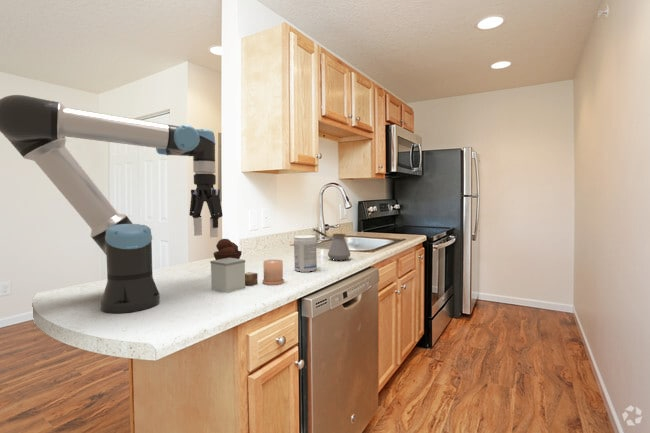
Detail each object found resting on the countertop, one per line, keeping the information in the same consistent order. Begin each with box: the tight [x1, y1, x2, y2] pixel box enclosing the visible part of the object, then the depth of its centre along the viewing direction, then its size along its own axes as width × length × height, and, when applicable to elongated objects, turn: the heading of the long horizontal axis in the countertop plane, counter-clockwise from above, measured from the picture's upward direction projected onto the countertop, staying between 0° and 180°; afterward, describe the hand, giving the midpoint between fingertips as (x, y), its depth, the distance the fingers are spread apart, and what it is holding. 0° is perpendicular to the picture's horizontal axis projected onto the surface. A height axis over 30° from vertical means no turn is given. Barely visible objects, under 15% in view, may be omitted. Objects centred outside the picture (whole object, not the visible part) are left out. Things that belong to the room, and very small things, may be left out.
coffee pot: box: [312, 228, 351, 261], centre depth 181 cm, size 21×12×15 cm, turn 61°
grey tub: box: [209, 258, 246, 294], centre depth 123 cm, size 8×8×10 cm
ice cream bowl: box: [213, 238, 243, 260], centre depth 143 cm, size 11×11×15 cm
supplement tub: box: [293, 234, 318, 273], centre depth 153 cm, size 10×10×15 cm
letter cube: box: [245, 272, 259, 287], centre depth 129 cm, size 4×4×4 cm
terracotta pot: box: [262, 259, 285, 286], centre depth 132 cm, size 8×8×8 cm
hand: (205, 236), depth 130 cm, fingers open, 9 cm apart
